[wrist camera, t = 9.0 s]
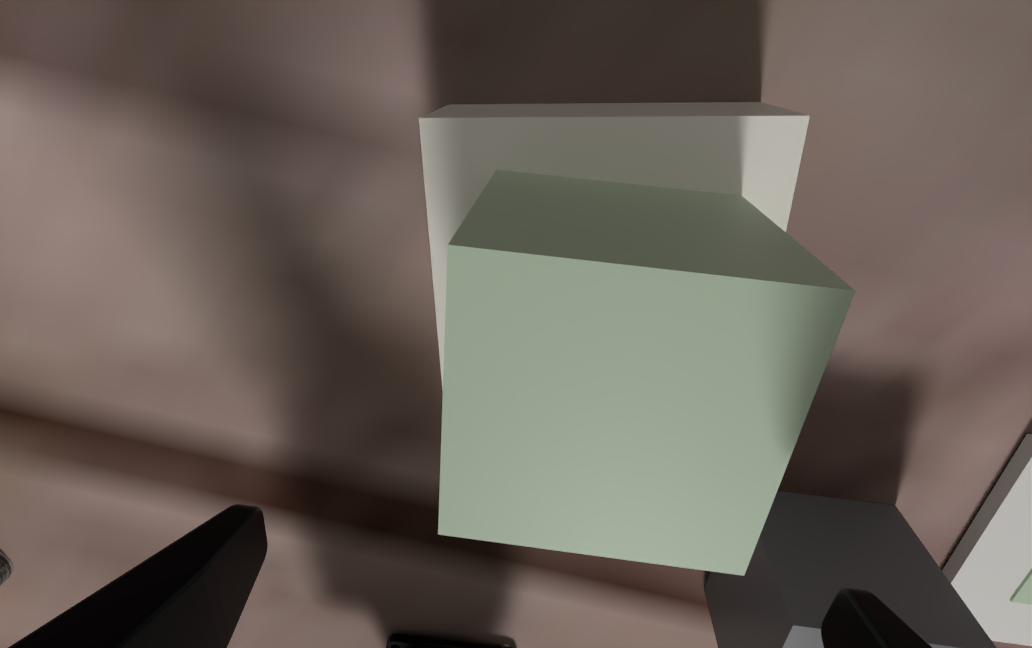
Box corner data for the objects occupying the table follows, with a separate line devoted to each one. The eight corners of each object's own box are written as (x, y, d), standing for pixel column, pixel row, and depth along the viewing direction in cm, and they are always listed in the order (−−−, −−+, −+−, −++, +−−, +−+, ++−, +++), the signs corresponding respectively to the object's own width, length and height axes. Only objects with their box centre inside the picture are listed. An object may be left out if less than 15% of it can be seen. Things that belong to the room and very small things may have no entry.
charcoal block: (841, 605, 24) (917, 762, 19) (703, 587, 25) (740, 737, 19) (894, 503, 22) (1000, 652, 16) (739, 484, 22) (792, 625, 17)
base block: (713, 367, 20) (743, 437, 17) (467, 360, 21) (445, 424, 17) (756, 101, 16) (810, 115, 13) (451, 103, 17) (418, 118, 13)
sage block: (686, 401, 16) (744, 575, 11) (482, 376, 16) (438, 534, 11) (741, 195, 13) (855, 290, 8) (496, 169, 14) (447, 244, 8)
